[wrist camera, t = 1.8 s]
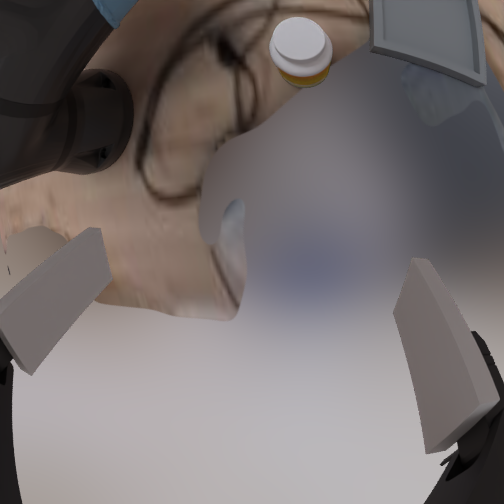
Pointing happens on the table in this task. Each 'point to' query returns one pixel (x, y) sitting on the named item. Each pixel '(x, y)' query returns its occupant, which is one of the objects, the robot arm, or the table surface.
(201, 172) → the table surface
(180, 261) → the table surface
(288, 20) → the supplement bottle
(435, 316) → the robot arm
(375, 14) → the grey tray
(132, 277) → the table surface
